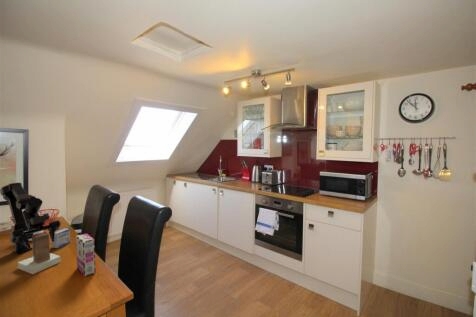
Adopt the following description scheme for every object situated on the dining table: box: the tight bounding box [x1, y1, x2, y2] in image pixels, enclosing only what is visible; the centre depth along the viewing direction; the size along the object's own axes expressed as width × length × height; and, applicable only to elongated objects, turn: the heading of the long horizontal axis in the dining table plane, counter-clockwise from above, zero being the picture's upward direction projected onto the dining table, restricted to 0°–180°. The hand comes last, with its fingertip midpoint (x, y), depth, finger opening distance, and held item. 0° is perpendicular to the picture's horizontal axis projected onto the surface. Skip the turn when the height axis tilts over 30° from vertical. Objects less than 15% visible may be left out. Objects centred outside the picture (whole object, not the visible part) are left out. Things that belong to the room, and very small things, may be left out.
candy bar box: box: [75, 233, 96, 277], centre depth 112 cm, size 11×5×16 cm, turn 49°
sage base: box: [17, 252, 62, 275], centre depth 117 cm, size 12×12×3 cm
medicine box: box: [51, 228, 71, 249], centre depth 139 cm, size 8×4×9 cm, turn 168°
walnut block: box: [31, 231, 51, 264], centre depth 116 cm, size 5×5×13 cm
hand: (42, 245), depth 115 cm, fingers open, 9 cm apart
